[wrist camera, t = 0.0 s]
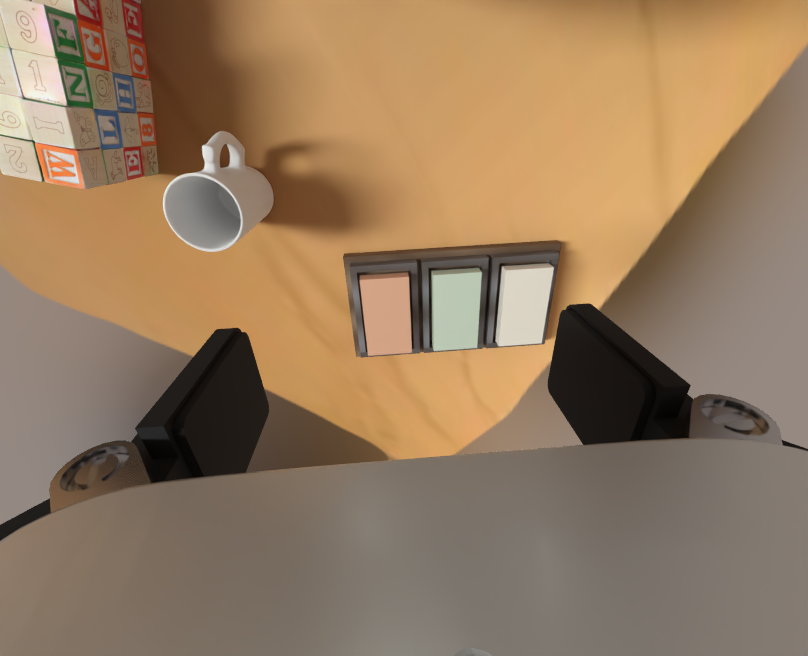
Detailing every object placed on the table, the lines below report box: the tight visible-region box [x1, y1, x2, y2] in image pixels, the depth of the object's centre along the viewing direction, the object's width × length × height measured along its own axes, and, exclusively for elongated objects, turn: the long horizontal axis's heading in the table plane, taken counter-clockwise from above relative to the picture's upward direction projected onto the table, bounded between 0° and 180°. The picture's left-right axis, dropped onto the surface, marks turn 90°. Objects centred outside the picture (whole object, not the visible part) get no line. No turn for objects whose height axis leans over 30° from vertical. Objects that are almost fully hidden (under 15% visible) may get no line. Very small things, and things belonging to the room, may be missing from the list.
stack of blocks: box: [0, 0, 159, 189], centre depth 30 cm, size 21×6×12 cm, turn 168°
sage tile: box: [432, 268, 482, 351], centre depth 47 cm, size 11×6×2 cm, turn 3°
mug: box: [163, 131, 274, 252], centre depth 36 cm, size 10×7×12 cm, turn 167°
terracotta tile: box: [360, 272, 412, 356], centre depth 47 cm, size 11×6×2 cm, turn 3°
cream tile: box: [495, 263, 554, 346], centre depth 48 cm, size 11×6×2 cm, turn 3°
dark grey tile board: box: [343, 240, 561, 357], centre depth 49 cm, size 15×28×3 cm, turn 93°
